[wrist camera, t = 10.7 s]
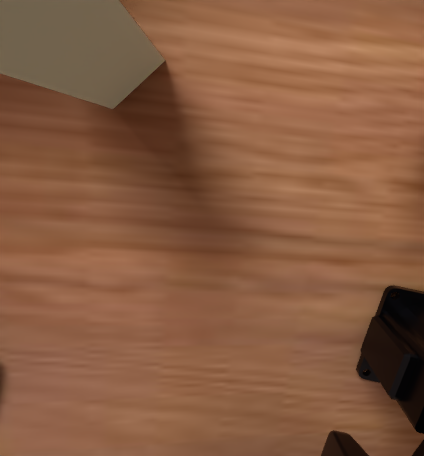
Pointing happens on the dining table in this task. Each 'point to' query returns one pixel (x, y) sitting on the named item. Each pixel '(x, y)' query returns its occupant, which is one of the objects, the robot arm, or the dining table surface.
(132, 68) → the green post
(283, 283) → the dining table surface
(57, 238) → the dining table surface
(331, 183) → the dining table surface
